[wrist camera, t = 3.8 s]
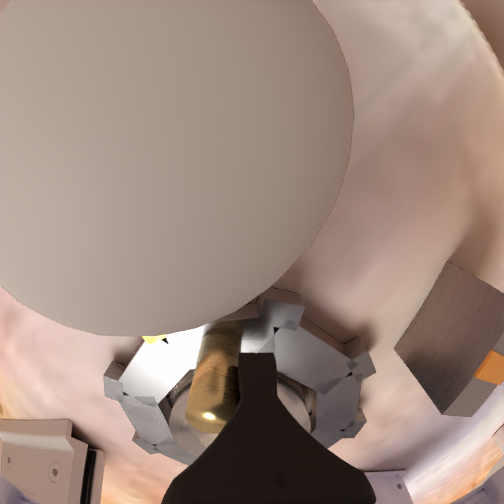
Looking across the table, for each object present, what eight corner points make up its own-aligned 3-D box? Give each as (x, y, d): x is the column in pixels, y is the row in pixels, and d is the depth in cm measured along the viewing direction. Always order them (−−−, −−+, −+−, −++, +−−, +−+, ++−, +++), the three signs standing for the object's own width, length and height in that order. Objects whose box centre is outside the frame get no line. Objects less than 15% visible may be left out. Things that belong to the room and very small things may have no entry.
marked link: (474, 282, 14) (538, 324, 8) (425, 359, 15) (473, 418, 9) (446, 260, 13) (521, 304, 7) (392, 347, 15) (442, 416, 9)
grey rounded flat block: (70, 418, 16) (63, 525, 8) (108, 439, 19) (109, 533, 11) (-2, 419, 17) (-12, 486, 9) (27, 436, 20) (20, 501, 12)
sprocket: (373, 268, 13) (441, 327, 7) (351, 448, 17) (371, 504, 11) (80, 303, 13) (19, 363, 7) (162, 464, 17) (150, 519, 12)
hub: (327, 378, 15) (339, 411, 12) (266, 446, 17) (269, 476, 14) (202, 334, 14) (194, 368, 11) (163, 416, 16) (154, 447, 13)
